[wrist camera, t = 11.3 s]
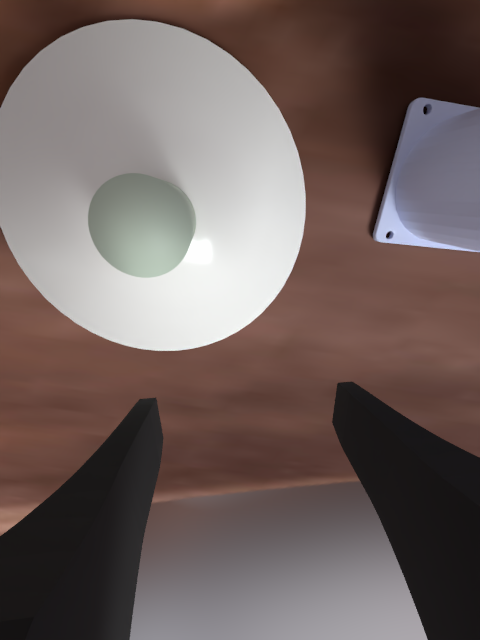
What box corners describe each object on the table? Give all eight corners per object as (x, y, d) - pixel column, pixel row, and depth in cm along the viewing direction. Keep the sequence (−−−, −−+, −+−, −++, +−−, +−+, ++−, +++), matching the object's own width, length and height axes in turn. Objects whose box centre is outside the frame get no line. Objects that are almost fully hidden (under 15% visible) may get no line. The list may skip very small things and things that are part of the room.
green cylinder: (198, 184, 17) (193, 180, 12) (194, 259, 18) (189, 281, 14) (118, 174, 16) (82, 166, 11) (123, 253, 18) (93, 273, 13)
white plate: (330, 62, 16) (335, 55, 15) (278, 350, 22) (280, 356, 22) (-40, -7, 13) (-54, -19, 12) (31, 339, 20) (24, 344, 19)
